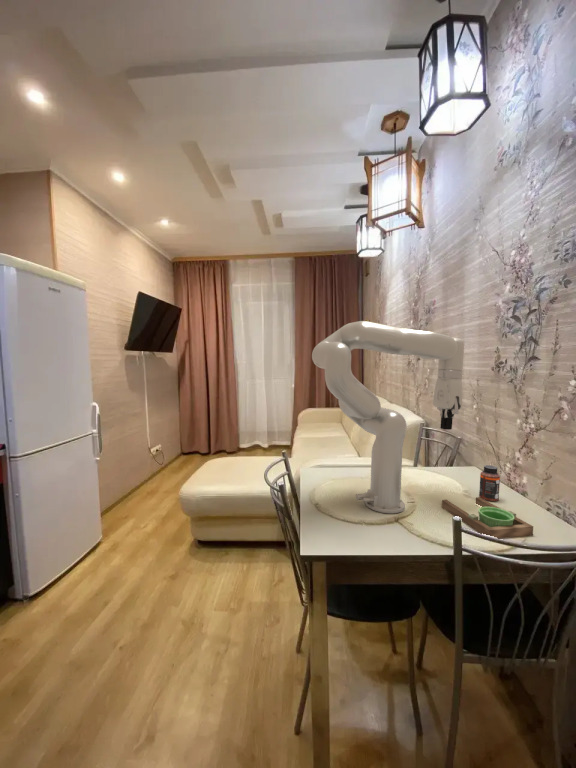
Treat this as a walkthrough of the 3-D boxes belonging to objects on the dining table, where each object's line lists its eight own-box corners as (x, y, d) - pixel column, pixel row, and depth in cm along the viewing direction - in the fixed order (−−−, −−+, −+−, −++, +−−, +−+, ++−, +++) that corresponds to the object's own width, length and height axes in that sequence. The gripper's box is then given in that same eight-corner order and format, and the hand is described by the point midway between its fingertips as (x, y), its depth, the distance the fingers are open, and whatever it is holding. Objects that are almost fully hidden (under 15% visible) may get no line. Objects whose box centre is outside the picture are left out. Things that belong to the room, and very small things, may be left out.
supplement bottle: (502, 502, 120) (504, 469, 119) (484, 501, 120) (486, 469, 119) (492, 495, 126) (494, 464, 125) (475, 495, 126) (477, 463, 125)
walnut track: (488, 539, 95) (488, 527, 95) (441, 507, 115) (441, 497, 115) (533, 535, 98) (534, 523, 98) (479, 504, 118) (480, 494, 118)
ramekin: (471, 526, 103) (472, 511, 102) (485, 517, 108) (486, 503, 108) (505, 539, 96) (506, 523, 95) (518, 529, 101) (519, 514, 101)
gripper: (427, 373, 126) (424, 424, 127) (452, 376, 111) (448, 433, 112) (447, 374, 127) (443, 424, 128) (474, 376, 112) (470, 433, 113)
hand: (446, 428), depth 120 cm, fingers closed
